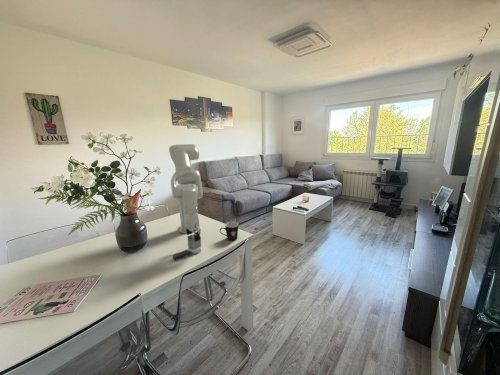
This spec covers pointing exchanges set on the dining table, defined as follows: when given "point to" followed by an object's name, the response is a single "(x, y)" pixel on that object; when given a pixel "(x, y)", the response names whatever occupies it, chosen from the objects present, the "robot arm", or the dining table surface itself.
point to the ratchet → (186, 253)
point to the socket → (193, 242)
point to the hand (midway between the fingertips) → (193, 237)
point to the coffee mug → (231, 230)
